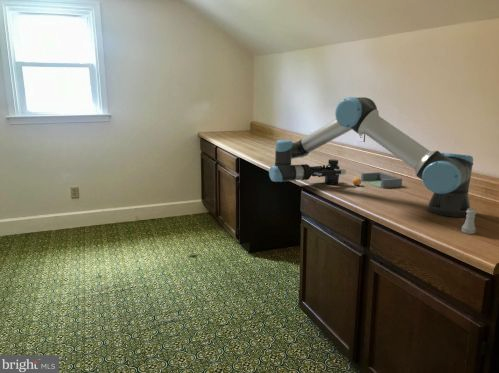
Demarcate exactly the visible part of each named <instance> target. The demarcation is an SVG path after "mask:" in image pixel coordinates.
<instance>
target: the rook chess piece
mask: <svg viewBox="0 0 499 373" xmlns="http://www.w3.org/2000/svg"><path fill="white" fill-rule="evenodd" d="M466 213H467V215H466V217H465V218H466V219H465V221H464V223H463V225H462V226H461V229H460V230H461V232H462V233H464V234H468V235H474V234H476V230H477V228H476V225H475V218H476V214H478V212H477V210H476V209H475V208H471V210H470V208H469V209H467V211H466Z"/></svg>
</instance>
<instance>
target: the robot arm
mask: <svg viewBox="0 0 499 373" xmlns="http://www.w3.org/2000/svg"><path fill="white" fill-rule="evenodd" d="M334 114H335V119H334V120H332V121H330V122H328V123H327V124H325V125H324V126H322V127H320V128H318V129H317V130H315V131H313V132H311V133H310V134H308V135H306V136H305V137H303V138H301V139H300V140H298V141H295V142H293V141H292V140H290V139H278V140H276V142H275V143H276V144H275V149H274V150H275V152H274V153H275V157H274V165H272V166H270V168H269V171H268V176H269V178H270V180H271V181H272V182H280V183H282V182H292V181H293V182H295V183H296V182H297V181H308V180H310V178H311V177H317V178H320V177H321V178H323V177H324V178H325V176H334V177H335V176H336V175H339V176H341V175H343V176H344V175H347V174H346V173H347V169H346V168H340V169H334V170H326V165H325V164H323V165H316V166H315V165H313V166H310V165H309V164H307V163H305V164H292V160H294V159H299V158H304V157H307V156H308V155H309V154H310V153H312V151H315V150H317V149H318V148H321V147H322V146H324V145H326V144H328V143H330V142H331V141H334V140H335V139H337V138H339V137H341V136H342V135H345V134H346V133H348V132H351V131H354V132H355V133H356V134H358V135H359V136H360V135H361V136H362V135H366V136H368V138H370V139H371V140H373V141H375V142H376V143H377V144H378V145H380V146H382V147H383V149H385V150H386V151H388V152H390V153H391V154H392V155H393V156H395V157H396V158H398V159H399V160H401V161H402V162H403V163H405V164H406V165H407V166H409V167H410V168H412V169H414V171H415V176H416V177H417V178H418V179H420V180H421V181H422V183H423V185H424V186H425V187H426V189H427V190H428V191H430V192H432V193H433V194H432V195H431V198H430V200H429V201H428V206H427V210H428V211H429V212H431V213H433V214H437V215H440V216H445V217H452V218H453V217H454V218H466V215H467V213H466V211H467V209H469V208H470V210H472V208H471V204H470V198H469V189H470V182H471V177H472V170H473V166H474V157H473V156H472V155H469V154H459V153H451V152H440V151H439V150H438V149H437V150H430V149H429V148H427V147H425V146H424V145H423V144H420V142H418V141H416V140H415V139H414V138H412V137H410V136H409V134H406V133H404V132H403V131H402V130H400V129H399V128H397V127H395V125H393V124H392V123H390V122H389V121H387V120H386V119H384V118H383V117H382V116H380V114H379V110H378V108H377V105H376V103H375V102H374V100H372V99H371V98H368V97H364V96H363V97H362V96H361V97H354V96H349V97H345V98H343V99H342V100H340V101H339V102H338V104H337V106H336V107H335V113H334Z"/></svg>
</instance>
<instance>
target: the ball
mask: <svg viewBox="0 0 499 373" xmlns="http://www.w3.org/2000/svg"><path fill="white" fill-rule="evenodd" d="M352 183H353V185H354V186H360V185H361V184H362V181H361V178H359V177H354V178H353V179H352Z"/></svg>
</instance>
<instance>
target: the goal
mask: <svg viewBox="0 0 499 373" xmlns="http://www.w3.org/2000/svg"><path fill="white" fill-rule="evenodd" d="M360 177H361V178H360V179H361V182H364V183H366V184H370V185H372V186H375V187H378V188H381V189H391V188H401V187H402V185H403V178H401V177H398V176H394V175H391V174H387V173H384V172H380V171H376V172H362V173H361V176H360Z"/></svg>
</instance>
